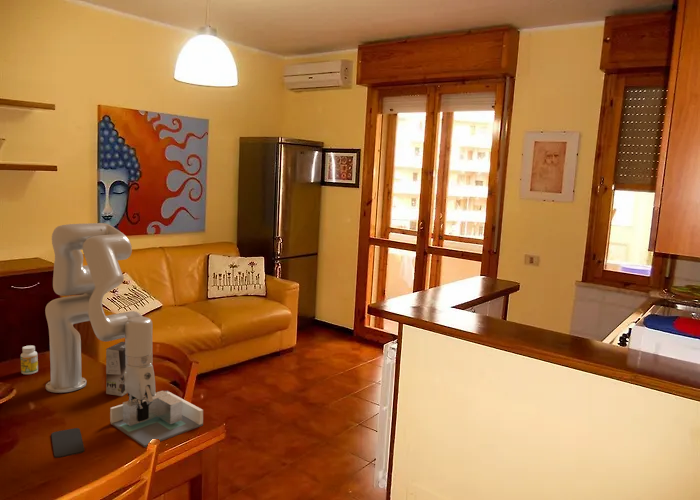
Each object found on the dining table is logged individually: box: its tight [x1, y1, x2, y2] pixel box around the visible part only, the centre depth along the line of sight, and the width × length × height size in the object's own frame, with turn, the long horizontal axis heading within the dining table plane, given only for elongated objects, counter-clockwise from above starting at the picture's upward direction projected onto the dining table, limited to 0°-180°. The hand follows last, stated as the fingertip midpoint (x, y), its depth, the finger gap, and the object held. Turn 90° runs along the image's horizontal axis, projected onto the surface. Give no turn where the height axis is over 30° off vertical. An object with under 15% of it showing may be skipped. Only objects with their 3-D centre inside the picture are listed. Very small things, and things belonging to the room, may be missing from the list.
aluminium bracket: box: [122, 390, 182, 426], centre depth 162 cm, size 13×11×6 cm
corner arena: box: [109, 390, 204, 448], centre depth 164 cm, size 20×19×5 cm
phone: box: [50, 427, 86, 459], centre depth 151 cm, size 7×1×15 cm
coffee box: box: [105, 341, 128, 397], centre depth 186 cm, size 9×6×16 cm
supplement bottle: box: [20, 344, 39, 375], centre depth 199 cm, size 5×5×10 cm
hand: (139, 416), depth 163 cm, fingers closed on aluminium bracket, 3 cm apart
